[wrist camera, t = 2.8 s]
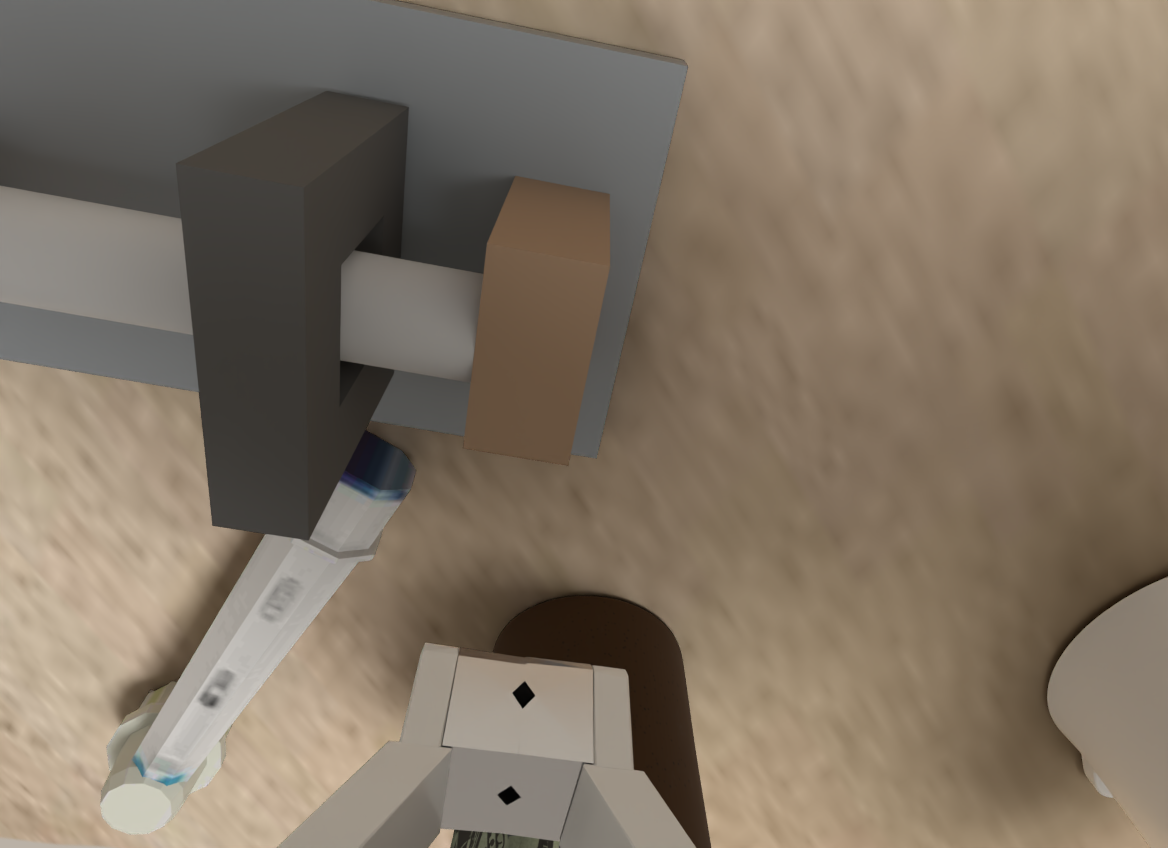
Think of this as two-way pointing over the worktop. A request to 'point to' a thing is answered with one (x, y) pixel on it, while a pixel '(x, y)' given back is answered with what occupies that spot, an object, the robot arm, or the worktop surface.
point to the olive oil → (654, 690)
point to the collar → (286, 300)
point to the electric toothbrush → (247, 645)
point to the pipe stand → (368, 281)
